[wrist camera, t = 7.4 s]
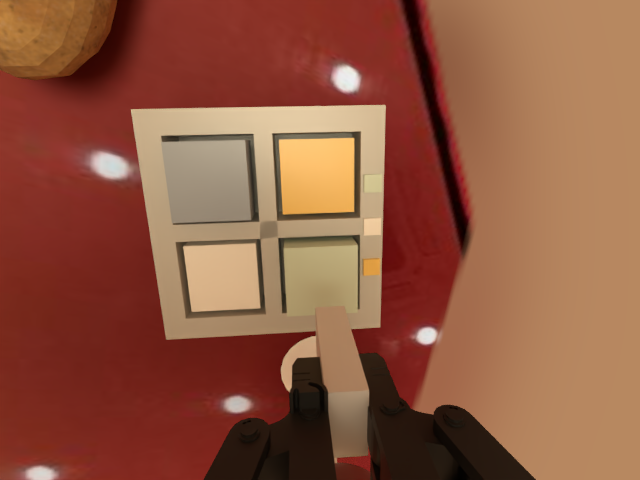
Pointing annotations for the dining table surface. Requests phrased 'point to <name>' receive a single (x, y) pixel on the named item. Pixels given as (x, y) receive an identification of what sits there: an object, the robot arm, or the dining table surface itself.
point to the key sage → (320, 274)
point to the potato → (51, 35)
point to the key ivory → (224, 274)
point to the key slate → (209, 180)
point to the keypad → (263, 210)
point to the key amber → (317, 175)
